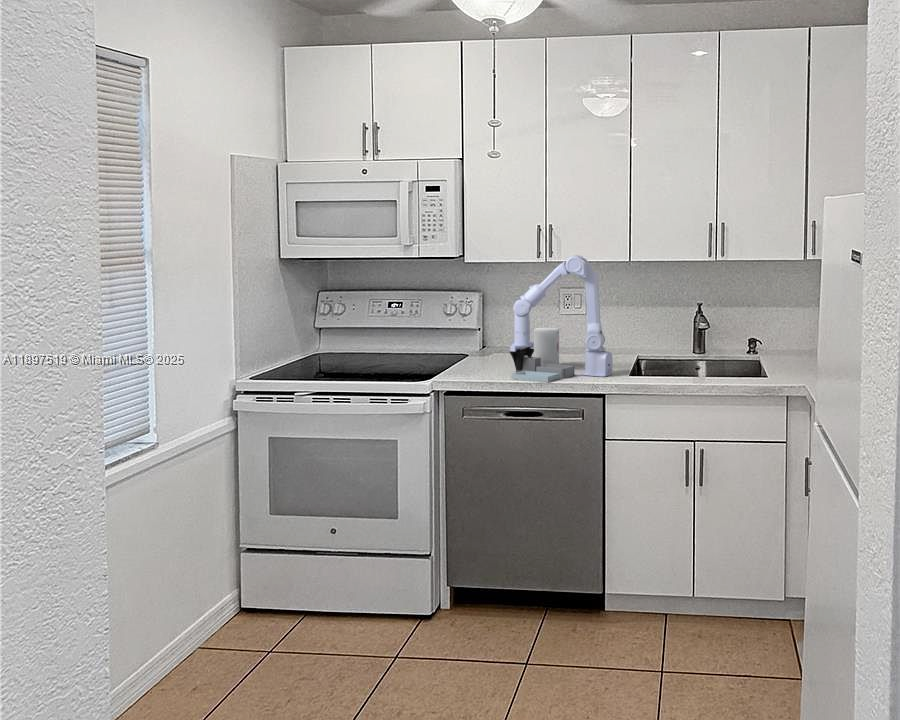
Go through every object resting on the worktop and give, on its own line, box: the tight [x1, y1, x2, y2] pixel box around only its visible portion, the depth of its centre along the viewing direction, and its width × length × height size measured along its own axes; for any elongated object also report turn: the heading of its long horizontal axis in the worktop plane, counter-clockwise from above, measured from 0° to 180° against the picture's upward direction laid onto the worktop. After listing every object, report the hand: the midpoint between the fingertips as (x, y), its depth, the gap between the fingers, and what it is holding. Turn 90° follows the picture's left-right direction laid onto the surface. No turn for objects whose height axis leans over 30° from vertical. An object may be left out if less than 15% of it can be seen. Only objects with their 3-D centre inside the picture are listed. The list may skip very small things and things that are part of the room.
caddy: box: [515, 355, 541, 373], centre depth 422 cm, size 8×4×7 cm, turn 58°
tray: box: [510, 371, 561, 383], centre depth 409 cm, size 15×9×2 cm, turn 57°
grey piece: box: [533, 327, 560, 367], centre depth 437 cm, size 9×9×15 cm
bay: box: [536, 364, 575, 379], centre depth 417 cm, size 11×8×4 cm
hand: (522, 368), depth 424 cm, fingers closed on caddy, 4 cm apart
